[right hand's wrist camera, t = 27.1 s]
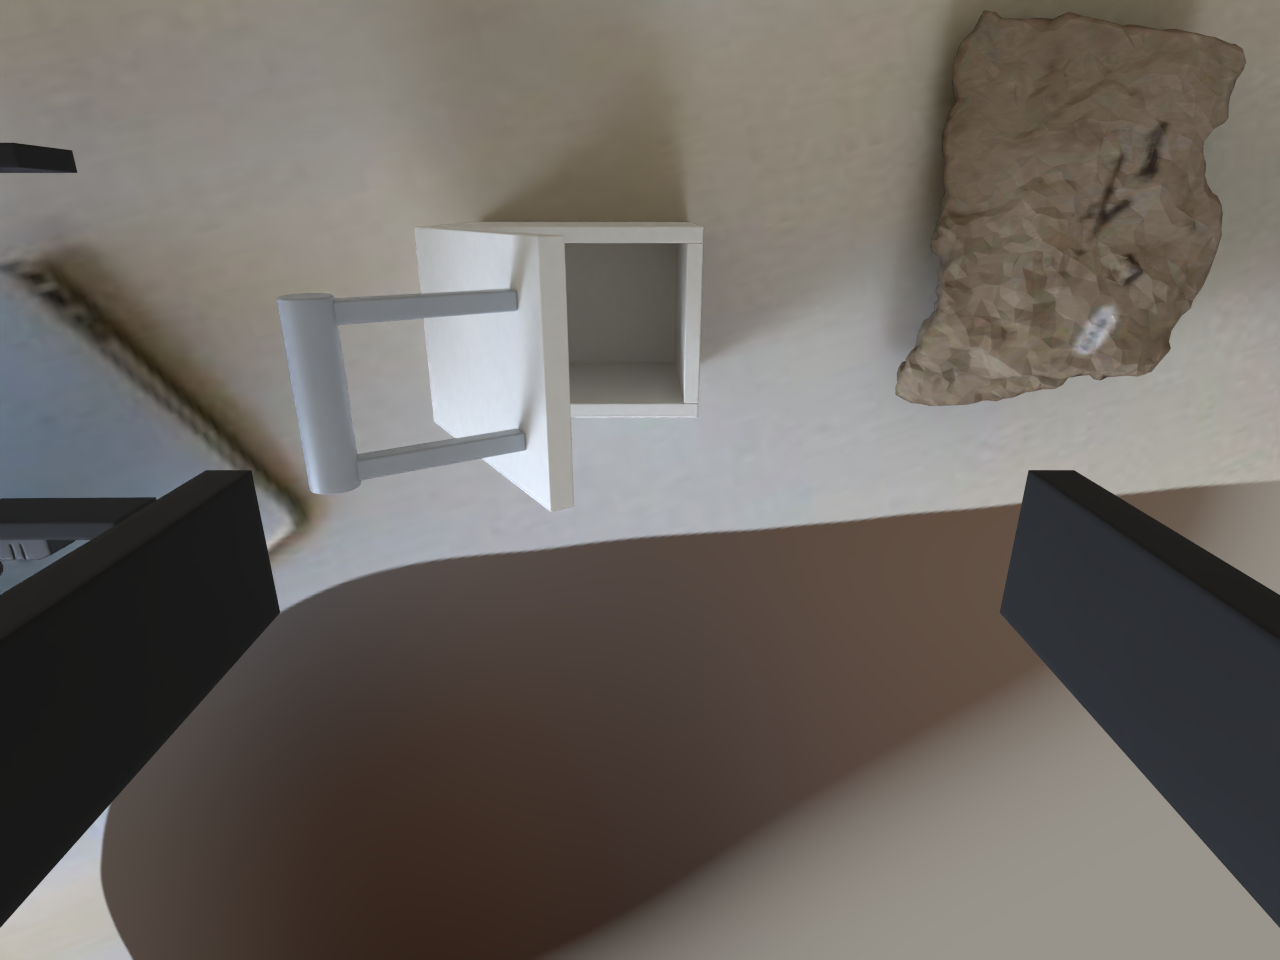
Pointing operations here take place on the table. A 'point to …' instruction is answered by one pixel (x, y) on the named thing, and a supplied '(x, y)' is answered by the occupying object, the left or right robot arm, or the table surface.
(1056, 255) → the stone
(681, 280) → the chest
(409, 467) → the lid
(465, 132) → the table surface
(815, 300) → the table surface
